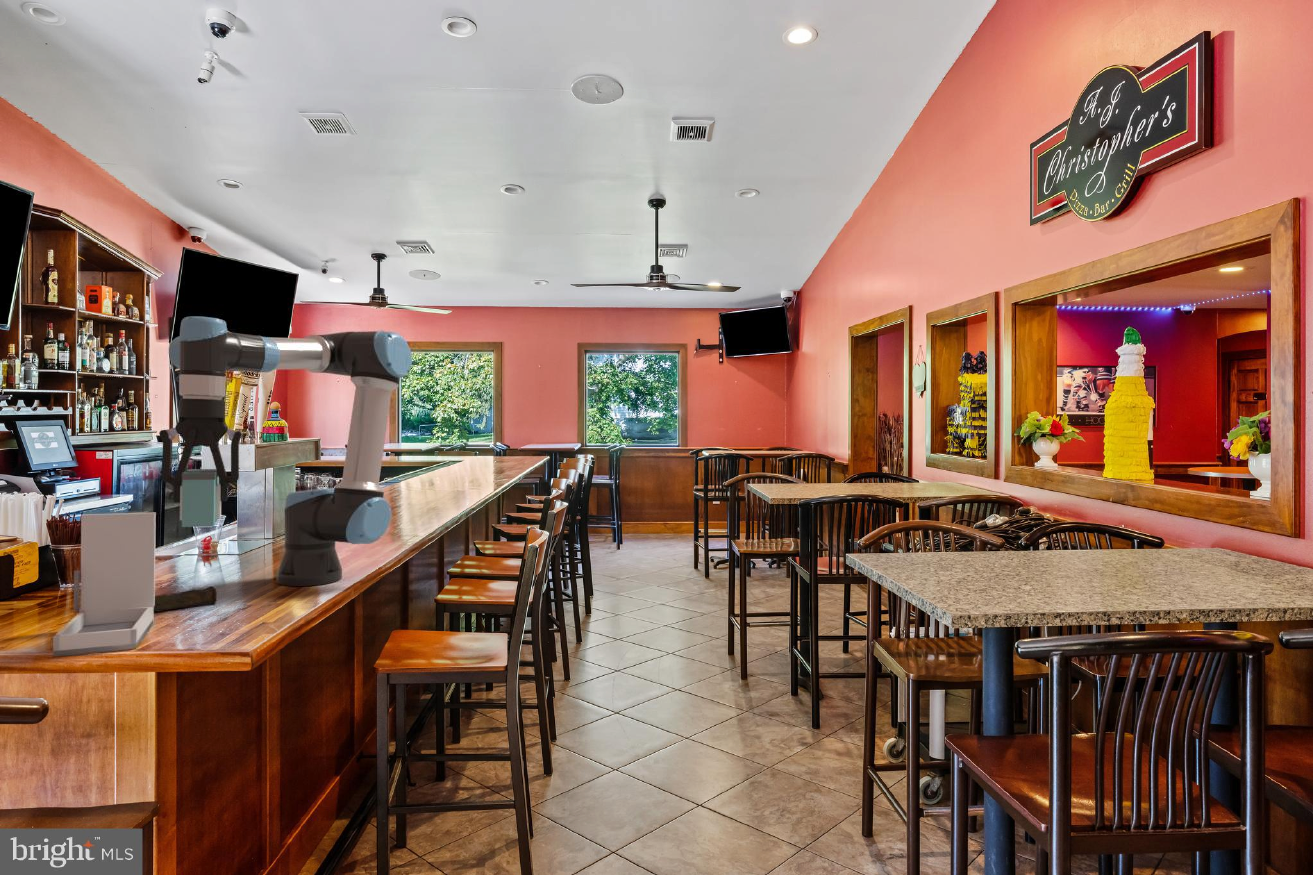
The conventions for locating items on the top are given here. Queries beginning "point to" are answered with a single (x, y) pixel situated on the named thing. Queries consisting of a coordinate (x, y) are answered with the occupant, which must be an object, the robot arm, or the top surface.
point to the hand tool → (185, 599)
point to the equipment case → (112, 585)
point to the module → (199, 497)
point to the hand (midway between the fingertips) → (200, 518)
